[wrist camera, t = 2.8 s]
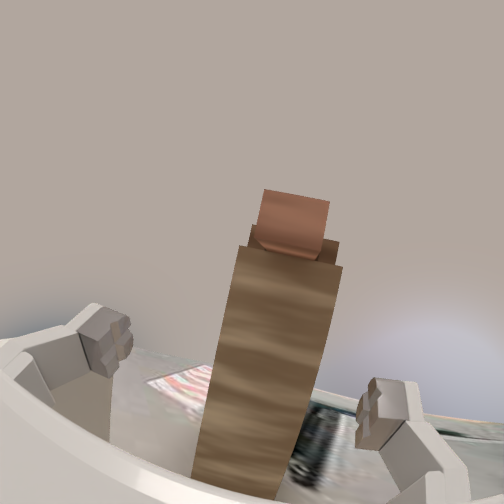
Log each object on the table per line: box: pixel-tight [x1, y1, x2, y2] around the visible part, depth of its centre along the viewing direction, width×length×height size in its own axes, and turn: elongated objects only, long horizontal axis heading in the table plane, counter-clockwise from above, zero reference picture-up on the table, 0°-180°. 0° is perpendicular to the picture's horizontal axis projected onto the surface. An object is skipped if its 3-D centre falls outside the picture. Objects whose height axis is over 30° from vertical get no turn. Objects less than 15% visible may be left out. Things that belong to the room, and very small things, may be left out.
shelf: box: [0, 338, 113, 443], centre depth 16 cm, size 15×6×14 cm, turn 171°
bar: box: [254, 189, 330, 261], centre depth 28 cm, size 20×4×3 cm, turn 171°
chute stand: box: [191, 224, 343, 501], centre depth 32 cm, size 15×9×28 cm, turn 171°
